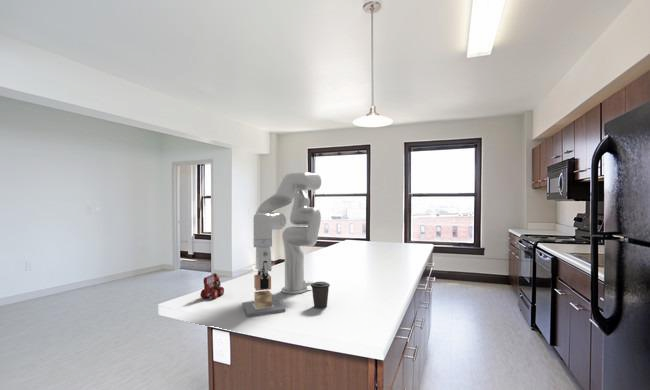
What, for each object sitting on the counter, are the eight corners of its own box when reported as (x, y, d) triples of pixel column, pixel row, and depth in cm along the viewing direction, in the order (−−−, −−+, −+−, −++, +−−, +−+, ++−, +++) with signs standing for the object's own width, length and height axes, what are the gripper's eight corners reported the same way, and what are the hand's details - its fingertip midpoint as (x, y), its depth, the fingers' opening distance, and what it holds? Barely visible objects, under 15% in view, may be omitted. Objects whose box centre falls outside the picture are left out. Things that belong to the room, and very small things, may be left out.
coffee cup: (316, 311, 126) (315, 285, 127) (307, 305, 134) (307, 281, 134) (333, 307, 130) (333, 283, 130) (324, 302, 137) (324, 279, 138)
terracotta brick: (268, 285, 134) (268, 273, 134) (271, 289, 128) (271, 276, 129) (254, 287, 132) (254, 275, 132) (256, 290, 127) (256, 278, 127)
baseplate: (276, 301, 140) (276, 298, 140) (285, 311, 126) (285, 308, 126) (242, 305, 134) (242, 302, 134) (247, 316, 121) (247, 313, 121)
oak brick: (268, 302, 134) (268, 290, 135) (271, 306, 129) (271, 293, 129) (254, 304, 132) (254, 291, 132) (257, 308, 127) (257, 295, 127)
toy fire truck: (226, 293, 153) (226, 271, 154) (211, 301, 141) (211, 277, 141) (213, 292, 155) (213, 271, 155) (198, 300, 143) (198, 277, 143)
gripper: (276, 244, 124) (276, 290, 124) (267, 240, 140) (267, 281, 140) (257, 245, 122) (257, 293, 121) (250, 241, 138) (250, 283, 137)
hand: (262, 286), depth 130 cm, fingers closed on terracotta brick, 6 cm apart
